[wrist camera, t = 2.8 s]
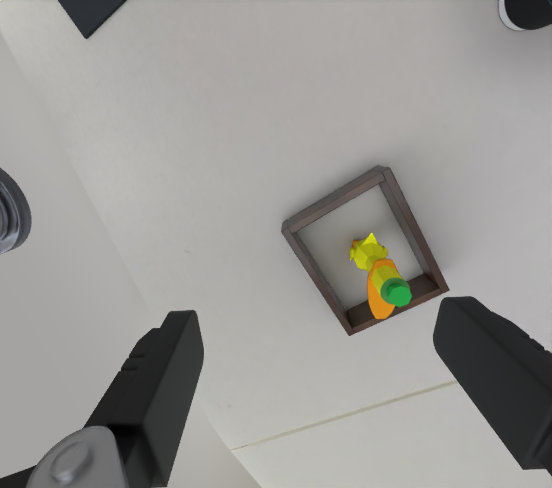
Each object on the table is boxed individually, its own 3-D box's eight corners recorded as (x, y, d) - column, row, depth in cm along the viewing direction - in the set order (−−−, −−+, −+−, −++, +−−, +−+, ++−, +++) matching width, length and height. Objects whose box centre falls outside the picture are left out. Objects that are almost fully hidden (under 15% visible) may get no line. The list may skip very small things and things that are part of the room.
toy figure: (373, 275, 31) (419, 346, 20) (342, 276, 32) (370, 347, 20) (376, 220, 29) (430, 264, 18) (343, 221, 29) (375, 266, 18)
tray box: (343, 318, 34) (349, 336, 30) (282, 222, 30) (280, 231, 27) (433, 275, 31) (450, 290, 28) (378, 165, 27) (390, 167, 24)
